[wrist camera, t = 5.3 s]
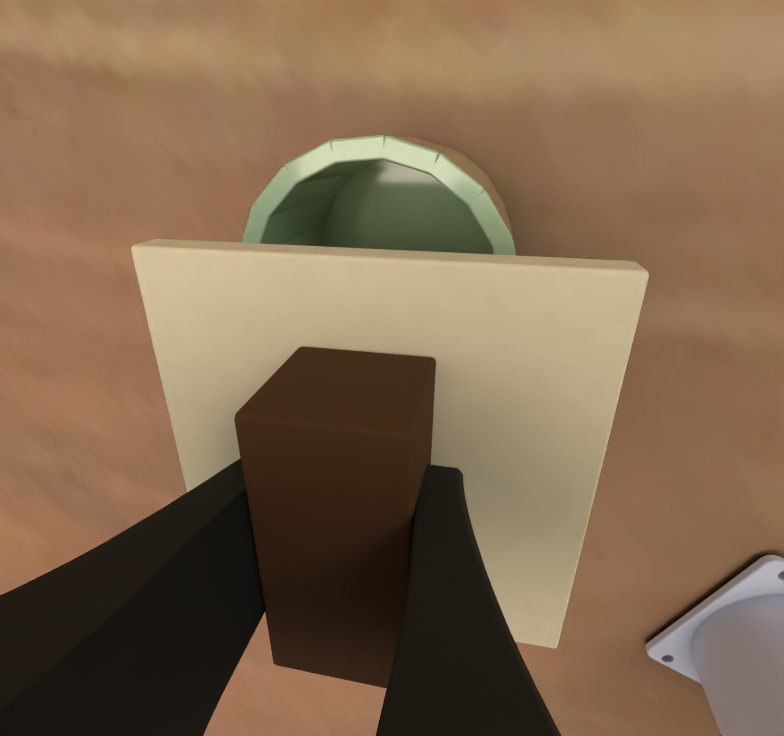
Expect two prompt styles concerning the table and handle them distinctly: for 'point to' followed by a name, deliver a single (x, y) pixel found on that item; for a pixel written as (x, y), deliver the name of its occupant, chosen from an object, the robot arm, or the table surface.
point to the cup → (382, 200)
